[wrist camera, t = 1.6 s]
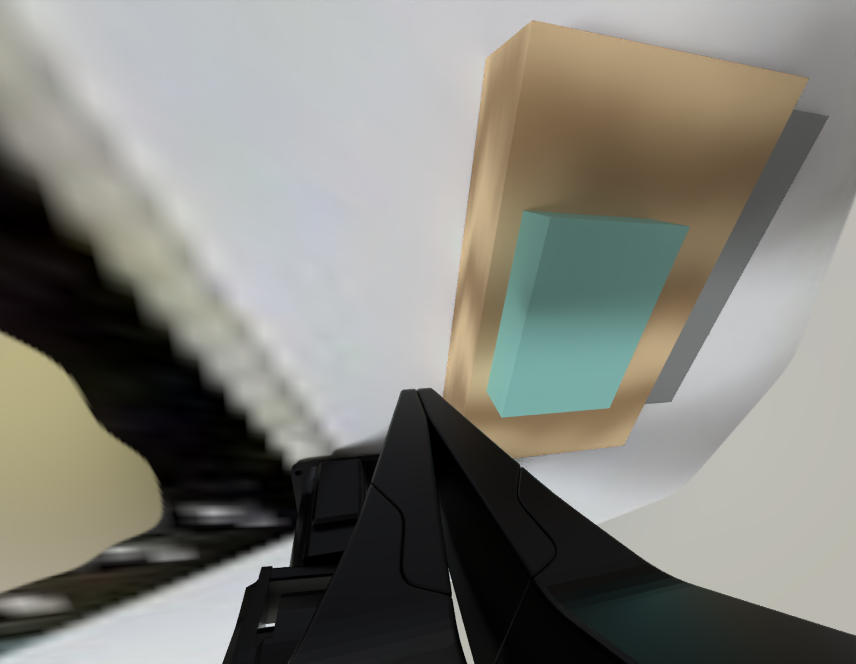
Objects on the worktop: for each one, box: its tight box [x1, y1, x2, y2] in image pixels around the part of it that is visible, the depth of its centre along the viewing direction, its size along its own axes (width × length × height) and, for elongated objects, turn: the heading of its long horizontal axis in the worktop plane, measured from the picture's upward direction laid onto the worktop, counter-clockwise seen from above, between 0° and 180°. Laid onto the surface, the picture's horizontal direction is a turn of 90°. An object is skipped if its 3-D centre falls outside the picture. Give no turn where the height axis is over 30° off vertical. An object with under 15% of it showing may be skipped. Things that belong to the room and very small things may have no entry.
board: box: [443, 20, 809, 458], centre depth 17 cm, size 20×12×4 cm, turn 175°
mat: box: [645, 110, 829, 404], centre depth 21 cm, size 20×8×1 cm, turn 175°
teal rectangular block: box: [486, 210, 690, 418], centre depth 14 cm, size 9×6×2 cm, turn 175°
